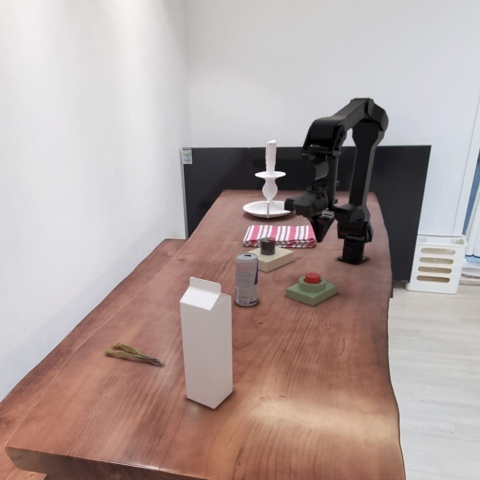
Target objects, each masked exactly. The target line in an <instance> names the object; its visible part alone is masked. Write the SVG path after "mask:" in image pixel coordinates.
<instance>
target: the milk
mask: <svg viewBox="0 0 480 480" xmlns="http://www.w3.org/2000/svg"><path fill="white" fill-rule="evenodd" d="M179 311H180V312H179V315H180V325H181V339H182V353H183V354H182V355H183V365H184V366H183V367H184V368H183V369H184V380H185V394H186V398H187V399H189V400H192V401H194V402H196V403H199V404H201V405H203V406H206V407H208V408H210V409H213V410H216V408H217V407H218V406H219V405H220V404H221V403H222V402H224V401H225V400H226V398H228V396H230V395H231V394H232V393H233V390H234V388H233V387H234V384H233V382H234V381H233V325H232V324H233V322H232V321H233V320H232V319H233V318H232V317H233V316H232V296H231V295H229V294H226V293H223V292H222V285H221V284H220V283H218V282H214V281H211V280H206V279H201V278H197V277H193V276H190V277H189V286H188V288H187V289H186V291H185V292H184V294H183V295H182V297H181V298H180V300H179Z"/></svg>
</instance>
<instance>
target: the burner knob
mask: <svg viewBox="0 0 480 480" xmlns="http://www.w3.org/2000/svg"><path fill="white" fill-rule="evenodd" d="M275 247H276V239H275V238H272V237H265V238H261V239H260V247H259V248H260V253H261V254H262V255H273V254H275Z"/></svg>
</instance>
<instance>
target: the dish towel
mask: <svg viewBox="0 0 480 480" xmlns="http://www.w3.org/2000/svg"><path fill="white" fill-rule="evenodd" d="M265 237H272V238H275V239H276V247H280V248H284V249H286V248H293V249H296V248H297V249H300V248H302V249H304V248H305V249H306V248H307V249H308V248H309V249H310V248H311V249H312V248H313V246H315V244H317V241H316V238H315V235H314V232H313V228H312V226H311V225H297V226H296V225H295V226H293V225H292V226H291V225H277V226H276V225H268V224H257V225H256V224H255V225H253V224H252V225H249V226H248V228H247V231H246V233H245V234H244V238H243V241H242V242H243V243H242V245H243V246H244V247H257V248H260V239H261V238H265Z"/></svg>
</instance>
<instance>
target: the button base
mask: <svg viewBox="0 0 480 480" xmlns="http://www.w3.org/2000/svg"><path fill="white" fill-rule="evenodd" d="M337 293H338V285H337V284H334V283H332V282H328V281H327V279H326V278H324V277H323V276H320V283H316V284H310V283H306V282H305V275H302V276H301V277H299V279H298V283H295V284H293V285H291V286H289V287H287V288H286V292H285V297H286V298H290V299H291V300H295V301H298V302H300V303H303V304H306V305H309V306H312V307H313V306H315V305H317V304H319V303H321V302H323V301H325V300H326V299H328V298H330V297H332V296H334V295H337Z"/></svg>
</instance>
